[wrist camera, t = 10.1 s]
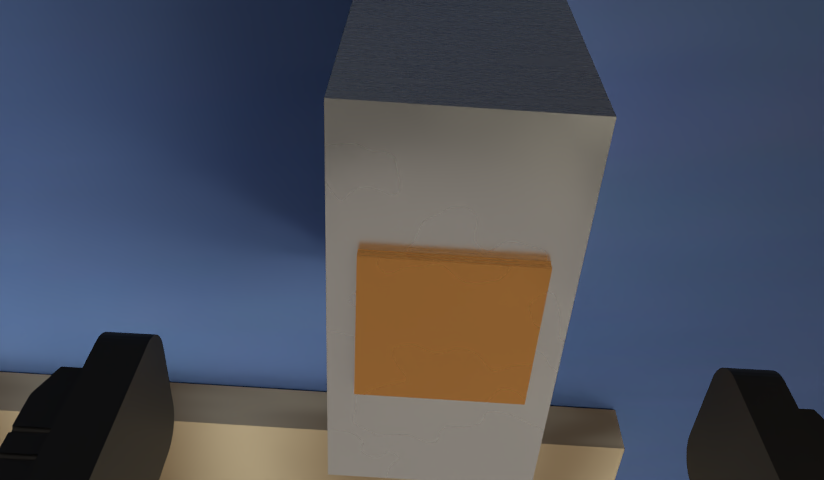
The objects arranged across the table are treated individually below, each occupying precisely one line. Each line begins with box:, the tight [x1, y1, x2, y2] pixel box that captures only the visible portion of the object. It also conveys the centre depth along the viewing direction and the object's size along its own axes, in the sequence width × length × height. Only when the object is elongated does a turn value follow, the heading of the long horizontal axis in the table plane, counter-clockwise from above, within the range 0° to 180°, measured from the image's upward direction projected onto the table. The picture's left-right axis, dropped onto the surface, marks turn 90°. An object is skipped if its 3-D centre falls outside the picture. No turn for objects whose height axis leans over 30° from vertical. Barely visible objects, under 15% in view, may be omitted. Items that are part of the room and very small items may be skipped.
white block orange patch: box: [324, 0, 616, 480], centre depth 16 cm, size 4×8×7 cm, turn 177°
